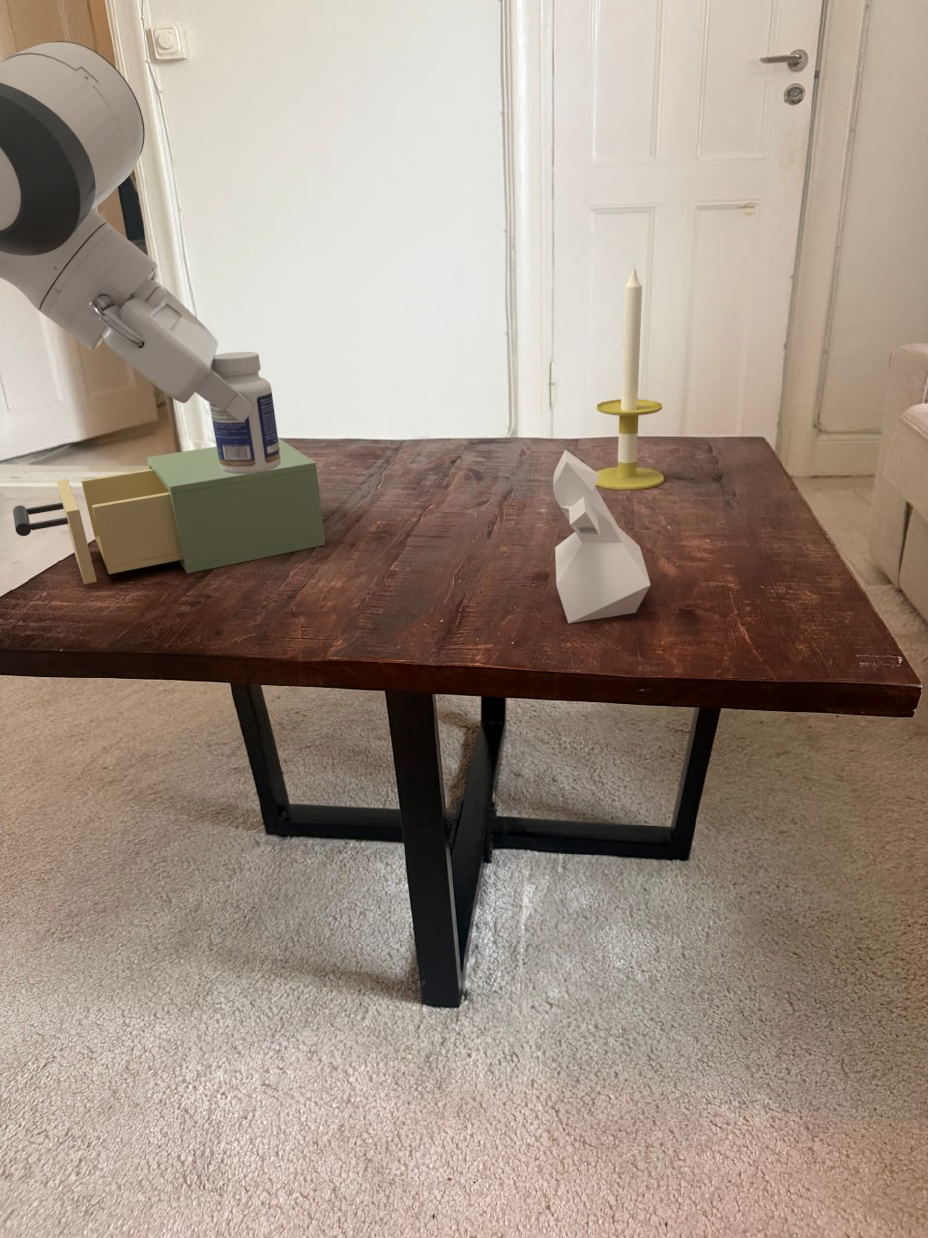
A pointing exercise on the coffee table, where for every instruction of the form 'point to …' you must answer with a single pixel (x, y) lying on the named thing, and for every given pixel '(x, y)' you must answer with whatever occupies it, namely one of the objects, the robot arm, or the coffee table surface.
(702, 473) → the coffee table surface
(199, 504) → the cabinet
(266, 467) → the pill bottle
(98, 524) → the drawer
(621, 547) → the faceted knight figurine
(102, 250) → the robot arm
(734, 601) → the coffee table surface
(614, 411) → the candle
